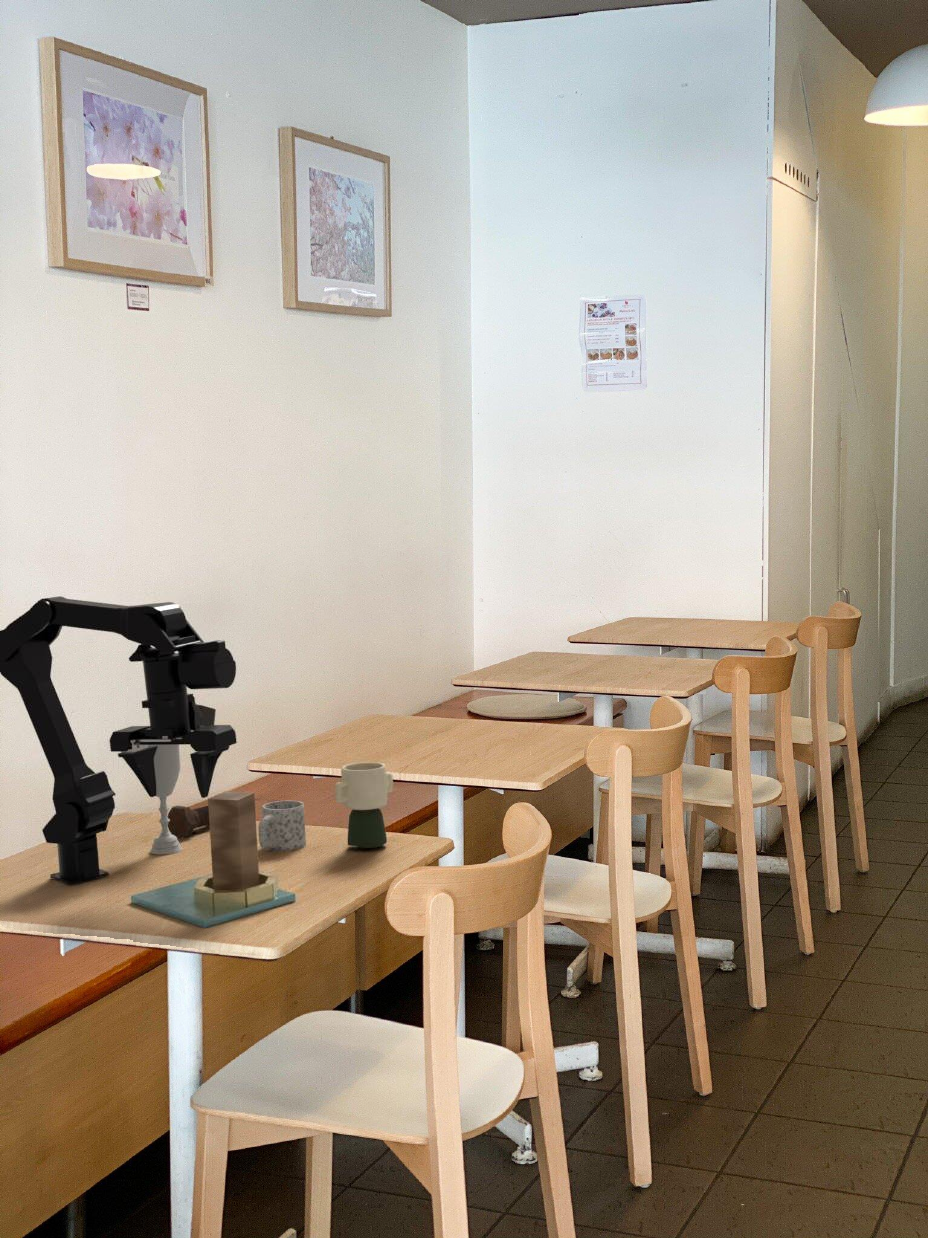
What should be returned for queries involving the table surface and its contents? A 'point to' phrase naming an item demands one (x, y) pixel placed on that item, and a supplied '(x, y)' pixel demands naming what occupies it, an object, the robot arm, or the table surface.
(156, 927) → the table surface
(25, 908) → the table surface
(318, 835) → the table surface
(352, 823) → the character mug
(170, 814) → the bolt
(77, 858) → the robot arm
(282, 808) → the mug
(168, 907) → the socket plate
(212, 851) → the peg
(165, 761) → the chalice
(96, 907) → the table surface
